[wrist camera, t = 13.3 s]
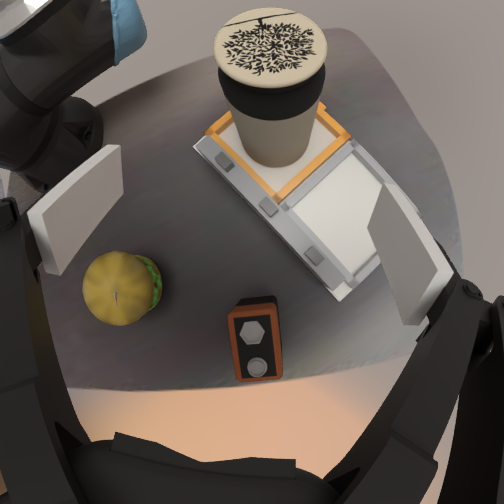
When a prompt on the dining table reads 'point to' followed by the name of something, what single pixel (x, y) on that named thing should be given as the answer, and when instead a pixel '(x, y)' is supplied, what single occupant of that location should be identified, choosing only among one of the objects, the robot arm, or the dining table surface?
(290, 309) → the dining table surface
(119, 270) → the hamburger
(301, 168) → the grey orange flat box
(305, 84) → the travel mug
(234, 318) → the battery
